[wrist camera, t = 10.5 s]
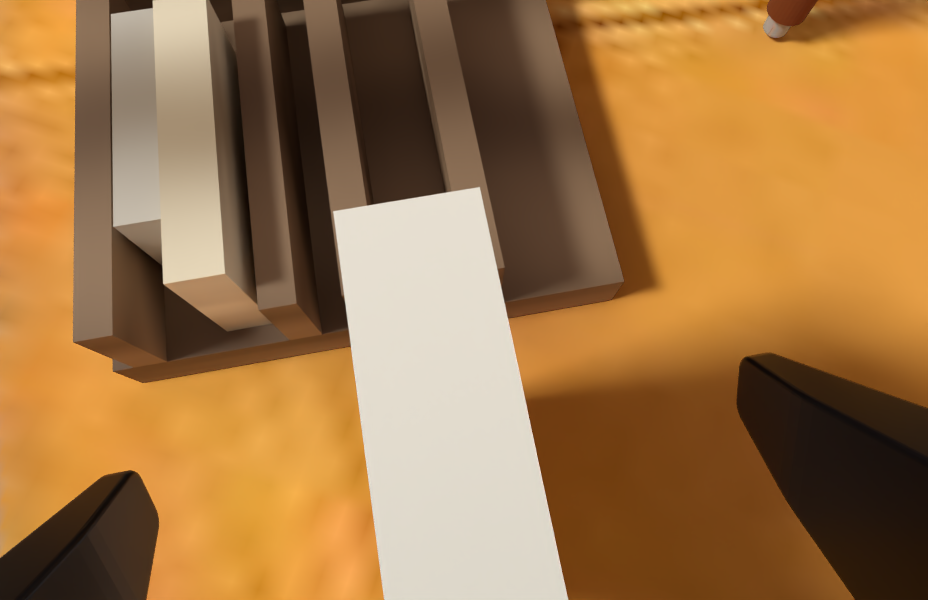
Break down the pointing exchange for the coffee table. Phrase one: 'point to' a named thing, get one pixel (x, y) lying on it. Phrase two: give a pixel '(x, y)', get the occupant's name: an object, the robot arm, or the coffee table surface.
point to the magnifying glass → (786, 15)
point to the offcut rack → (309, 165)
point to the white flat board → (443, 406)
